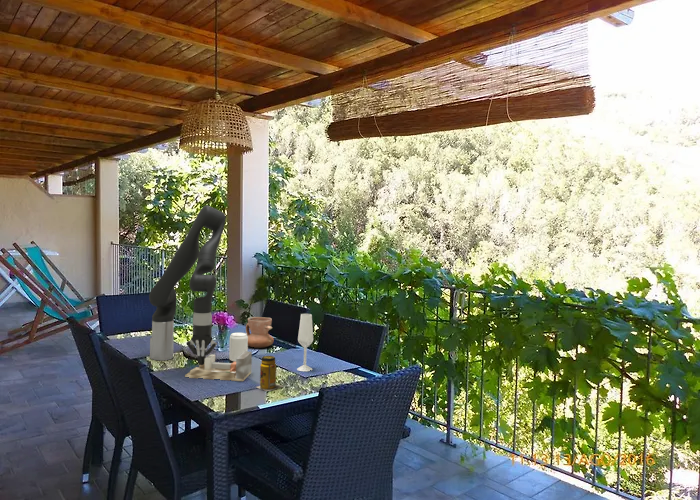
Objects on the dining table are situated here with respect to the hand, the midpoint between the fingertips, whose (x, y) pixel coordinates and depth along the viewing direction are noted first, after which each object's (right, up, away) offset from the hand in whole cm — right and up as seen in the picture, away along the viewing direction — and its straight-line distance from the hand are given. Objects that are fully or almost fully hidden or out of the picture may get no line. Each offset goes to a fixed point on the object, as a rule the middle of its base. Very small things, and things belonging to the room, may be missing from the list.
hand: (201, 364), depth 225 cm
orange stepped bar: (+14, -2, -3) cm, 14 cm away
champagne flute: (+42, -5, +13) cm, 44 cm away
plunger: (+7, -3, 0) cm, 8 cm away
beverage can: (+10, -3, +24) cm, 26 cm away
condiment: (+30, -6, -13) cm, 33 cm away
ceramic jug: (+15, -2, +51) cm, 53 cm away
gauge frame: (+7, -4, 0) cm, 8 cm away
